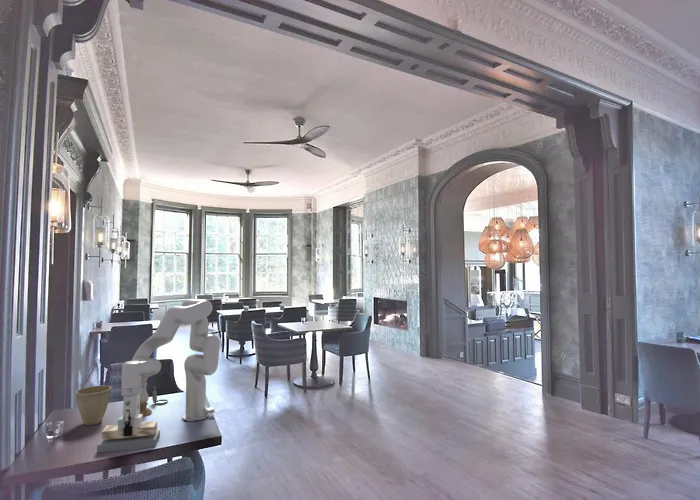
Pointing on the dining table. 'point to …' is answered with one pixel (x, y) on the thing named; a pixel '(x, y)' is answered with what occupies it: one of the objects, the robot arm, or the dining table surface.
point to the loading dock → (128, 443)
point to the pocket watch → (154, 397)
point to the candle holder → (144, 397)
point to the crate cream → (137, 421)
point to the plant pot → (93, 403)
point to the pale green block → (121, 422)
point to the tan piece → (143, 430)
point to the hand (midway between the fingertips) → (130, 432)
